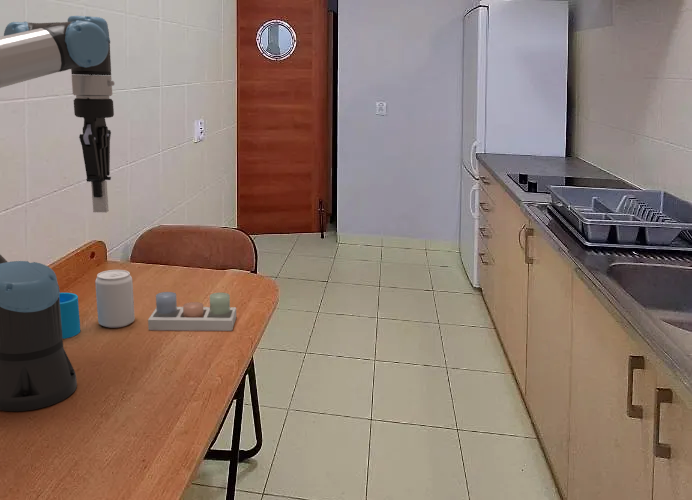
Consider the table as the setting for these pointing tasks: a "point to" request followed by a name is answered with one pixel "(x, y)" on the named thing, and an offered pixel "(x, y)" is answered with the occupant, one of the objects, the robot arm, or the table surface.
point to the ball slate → (166, 302)
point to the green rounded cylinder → (219, 303)
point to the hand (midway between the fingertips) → (101, 211)
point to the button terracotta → (193, 310)
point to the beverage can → (114, 298)
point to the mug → (69, 314)
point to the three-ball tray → (192, 321)
